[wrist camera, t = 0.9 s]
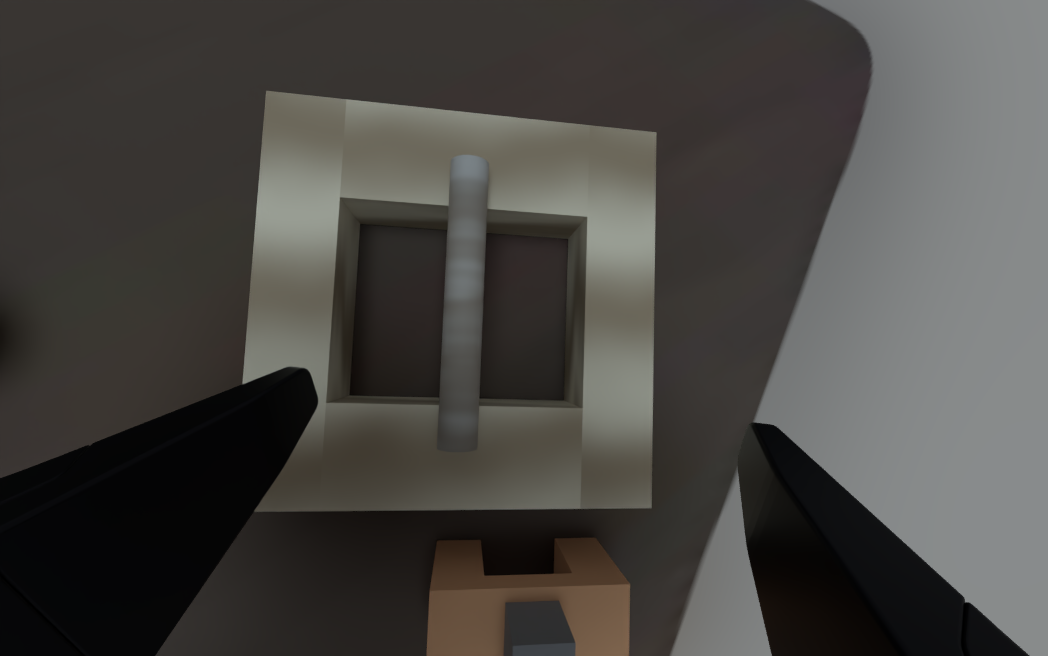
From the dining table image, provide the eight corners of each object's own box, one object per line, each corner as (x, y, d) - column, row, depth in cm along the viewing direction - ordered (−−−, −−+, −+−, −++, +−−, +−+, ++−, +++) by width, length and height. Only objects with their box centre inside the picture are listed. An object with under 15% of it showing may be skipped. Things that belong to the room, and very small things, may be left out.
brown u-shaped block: (594, 602, 21) (657, 720, 14) (433, 608, 20) (418, 738, 13) (595, 537, 21) (658, 622, 15) (437, 540, 20) (423, 633, 14)
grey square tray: (621, 484, 22) (668, 521, 17) (272, 485, 20) (209, 527, 15) (627, 166, 23) (672, 113, 18) (299, 135, 21) (247, 66, 16)
